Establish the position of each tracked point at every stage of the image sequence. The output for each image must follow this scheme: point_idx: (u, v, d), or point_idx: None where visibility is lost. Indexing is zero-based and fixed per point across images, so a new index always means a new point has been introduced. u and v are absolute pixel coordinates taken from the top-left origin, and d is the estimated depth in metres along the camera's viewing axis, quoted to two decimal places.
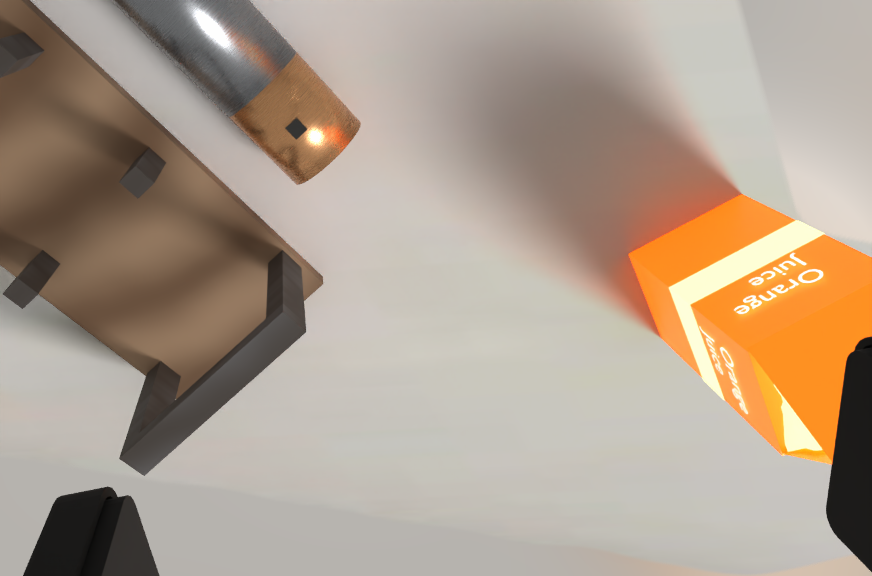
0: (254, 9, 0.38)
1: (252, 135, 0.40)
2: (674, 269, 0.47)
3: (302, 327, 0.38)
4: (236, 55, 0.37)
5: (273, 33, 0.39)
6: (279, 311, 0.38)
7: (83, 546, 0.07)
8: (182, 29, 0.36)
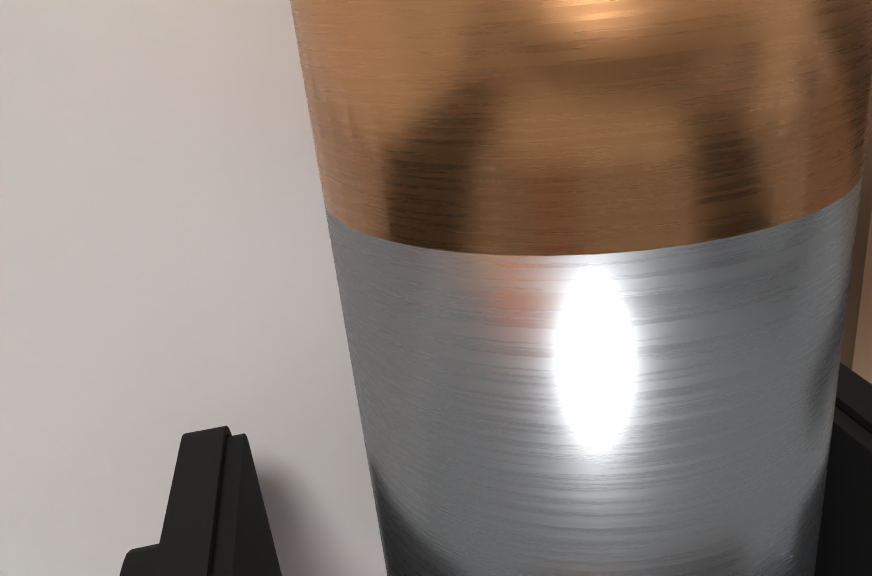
0: (482, 556, 0.07)
1: None
2: None
3: None
4: (802, 436, 0.06)
5: (503, 426, 0.06)
6: None
7: (217, 472, 0.08)
8: None
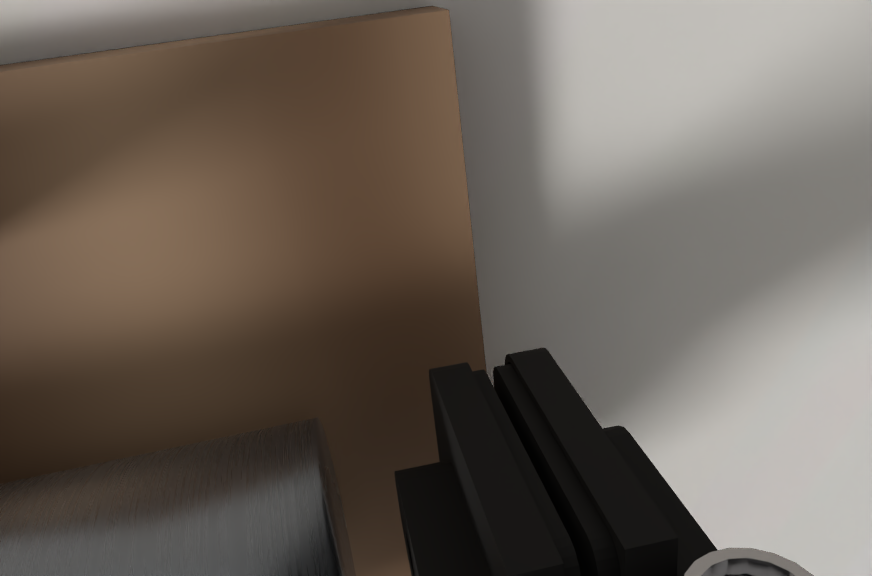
0: None
1: None
2: None
3: None
4: None
5: None
6: None
7: (481, 398, 0.09)
8: None
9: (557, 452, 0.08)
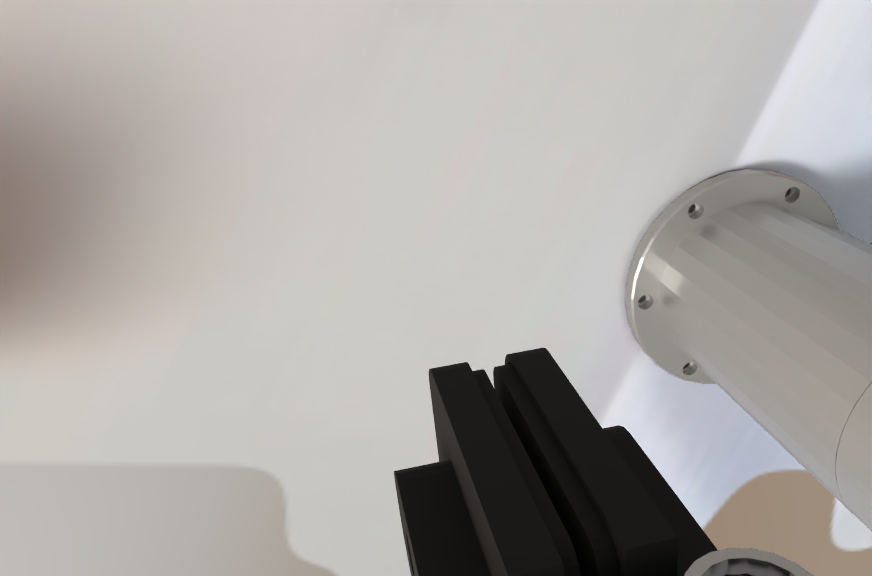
0: None
1: None
2: None
3: None
4: None
5: None
6: None
7: (481, 398, 0.09)
8: None
9: (557, 452, 0.08)
